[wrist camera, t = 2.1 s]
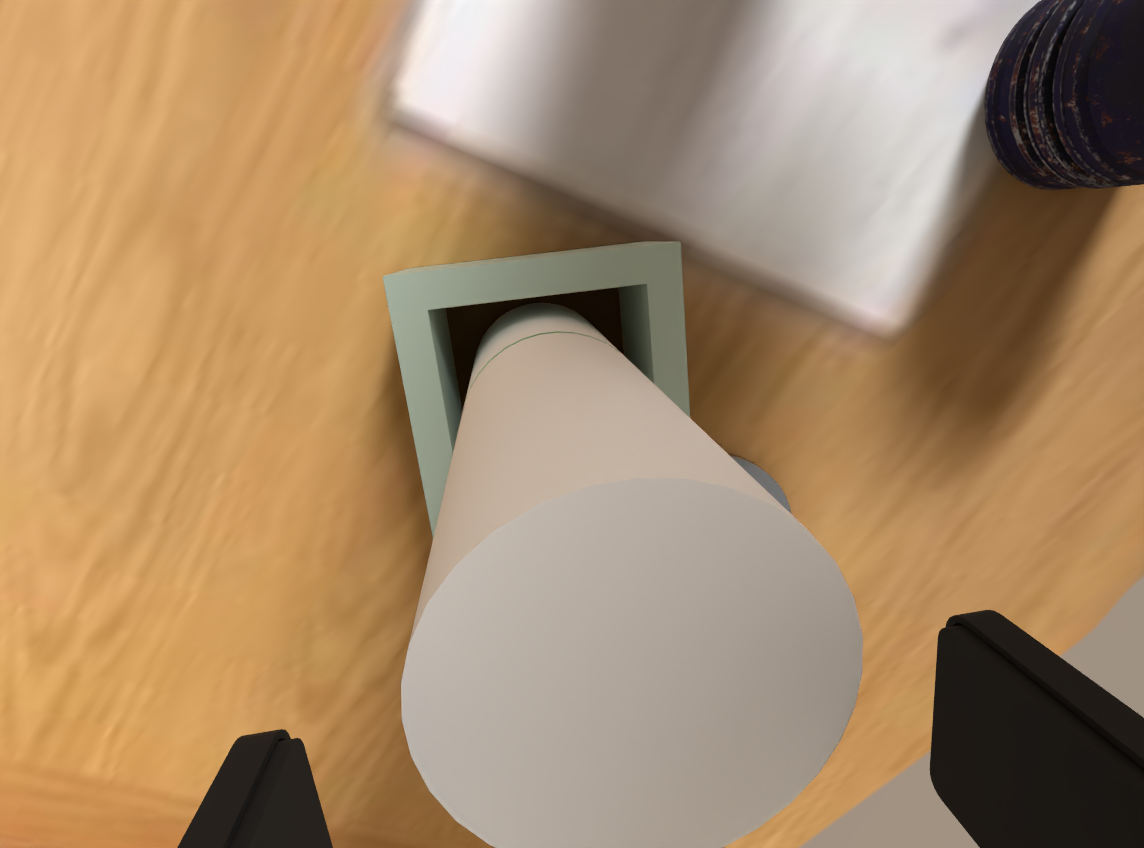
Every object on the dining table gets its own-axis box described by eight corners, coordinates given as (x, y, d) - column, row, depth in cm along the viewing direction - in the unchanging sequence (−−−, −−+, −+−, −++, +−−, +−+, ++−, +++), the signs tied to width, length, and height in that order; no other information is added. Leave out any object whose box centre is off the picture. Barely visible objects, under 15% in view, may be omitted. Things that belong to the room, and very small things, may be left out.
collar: (408, 268, 31) (382, 276, 25) (643, 241, 32) (680, 241, 25) (448, 489, 35) (434, 548, 28) (659, 459, 36) (695, 510, 29)
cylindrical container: (467, 426, 34) (383, 871, 10) (482, 293, 32) (422, 450, 8) (596, 440, 35) (799, 876, 11) (618, 312, 33) (920, 503, 9)
